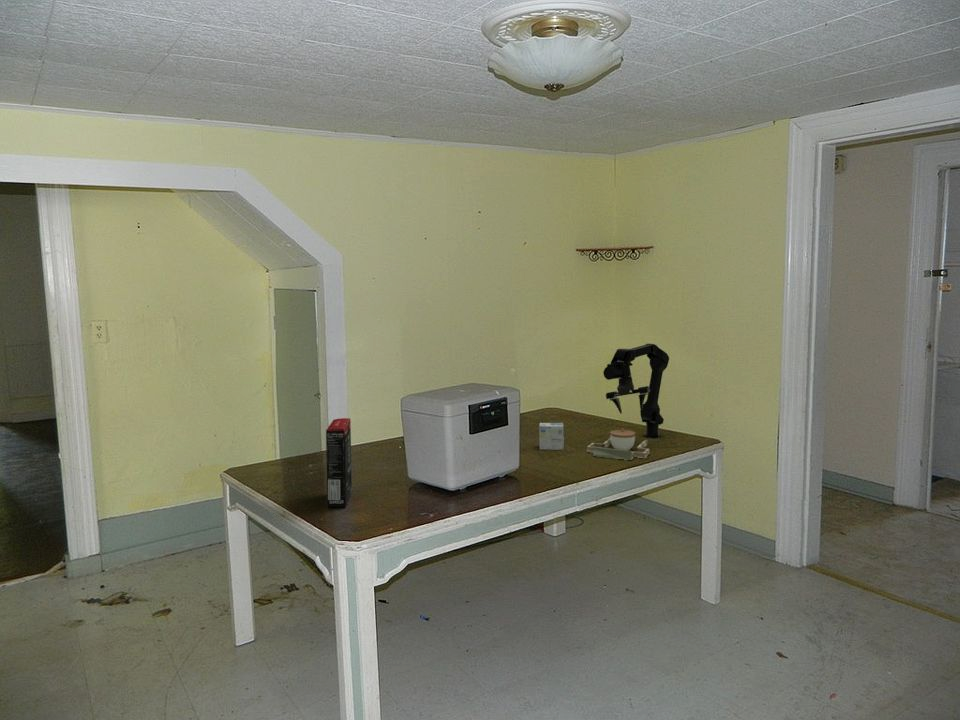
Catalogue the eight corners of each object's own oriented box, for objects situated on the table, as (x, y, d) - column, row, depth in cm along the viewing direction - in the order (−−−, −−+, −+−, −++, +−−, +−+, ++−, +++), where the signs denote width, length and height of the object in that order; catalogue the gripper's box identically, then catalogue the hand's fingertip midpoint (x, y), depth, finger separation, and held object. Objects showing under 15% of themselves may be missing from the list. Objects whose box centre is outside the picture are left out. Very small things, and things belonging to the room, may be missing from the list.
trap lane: (602, 440, 324) (602, 431, 323) (657, 446, 313) (657, 437, 312) (583, 455, 299) (583, 446, 299) (641, 462, 288) (642, 452, 288)
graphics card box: (334, 492, 253) (331, 418, 250) (353, 492, 254) (351, 417, 250) (327, 509, 236) (323, 429, 233) (348, 508, 237) (345, 428, 233)
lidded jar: (634, 447, 312) (634, 426, 311) (635, 453, 302) (635, 431, 300) (609, 446, 314) (610, 425, 313) (609, 452, 304) (610, 431, 302)
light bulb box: (563, 446, 315) (563, 422, 313) (563, 450, 308) (563, 425, 307) (539, 445, 316) (539, 422, 314) (539, 449, 309) (539, 425, 308)
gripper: (599, 381, 311) (606, 416, 310) (641, 374, 303) (648, 410, 302) (606, 380, 321) (612, 414, 320) (647, 373, 313) (653, 408, 312)
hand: (631, 411), depth 313 cm, fingers open, 9 cm apart
